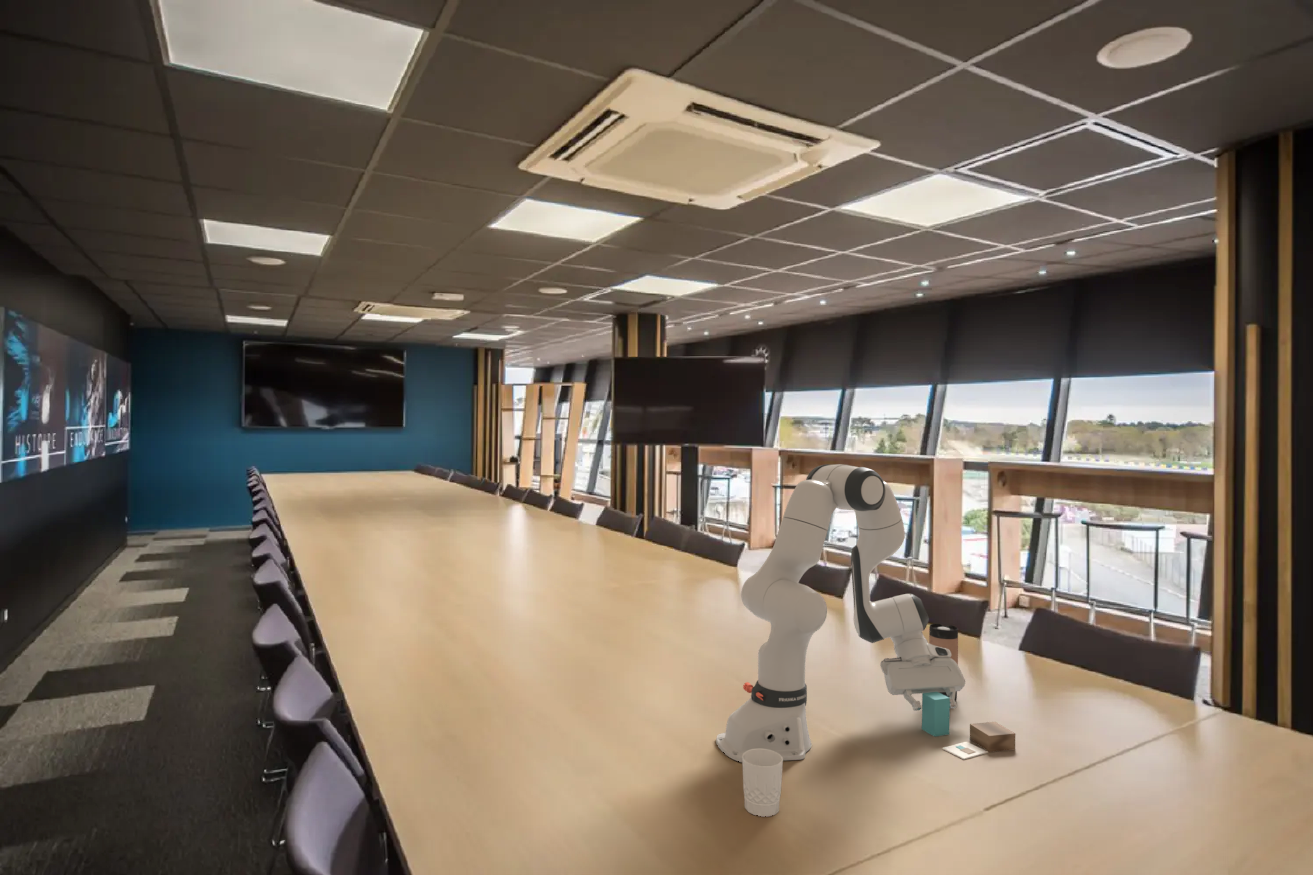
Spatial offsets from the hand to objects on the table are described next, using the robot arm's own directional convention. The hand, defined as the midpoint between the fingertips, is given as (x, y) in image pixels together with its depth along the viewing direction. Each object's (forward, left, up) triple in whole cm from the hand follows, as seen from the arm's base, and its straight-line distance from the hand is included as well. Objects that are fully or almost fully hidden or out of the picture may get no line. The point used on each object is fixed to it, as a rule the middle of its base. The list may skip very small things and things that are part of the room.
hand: (935, 708), depth 175 cm
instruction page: (-1, -11, -6) cm, 13 cm away
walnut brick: (+8, -10, -6) cm, 14 cm away
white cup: (-58, -19, -6) cm, 62 cm away
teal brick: (0, 0, -6) cm, 6 cm away
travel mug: (+18, +18, -6) cm, 26 cm away
